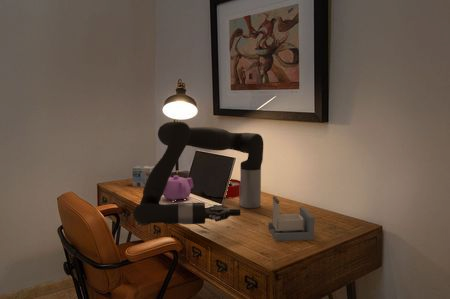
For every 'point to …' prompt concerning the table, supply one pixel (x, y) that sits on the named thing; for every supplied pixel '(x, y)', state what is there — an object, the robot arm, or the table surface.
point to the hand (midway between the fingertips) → (240, 212)
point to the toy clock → (233, 188)
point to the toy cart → (286, 220)
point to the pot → (178, 188)
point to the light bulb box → (141, 175)
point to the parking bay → (295, 235)
